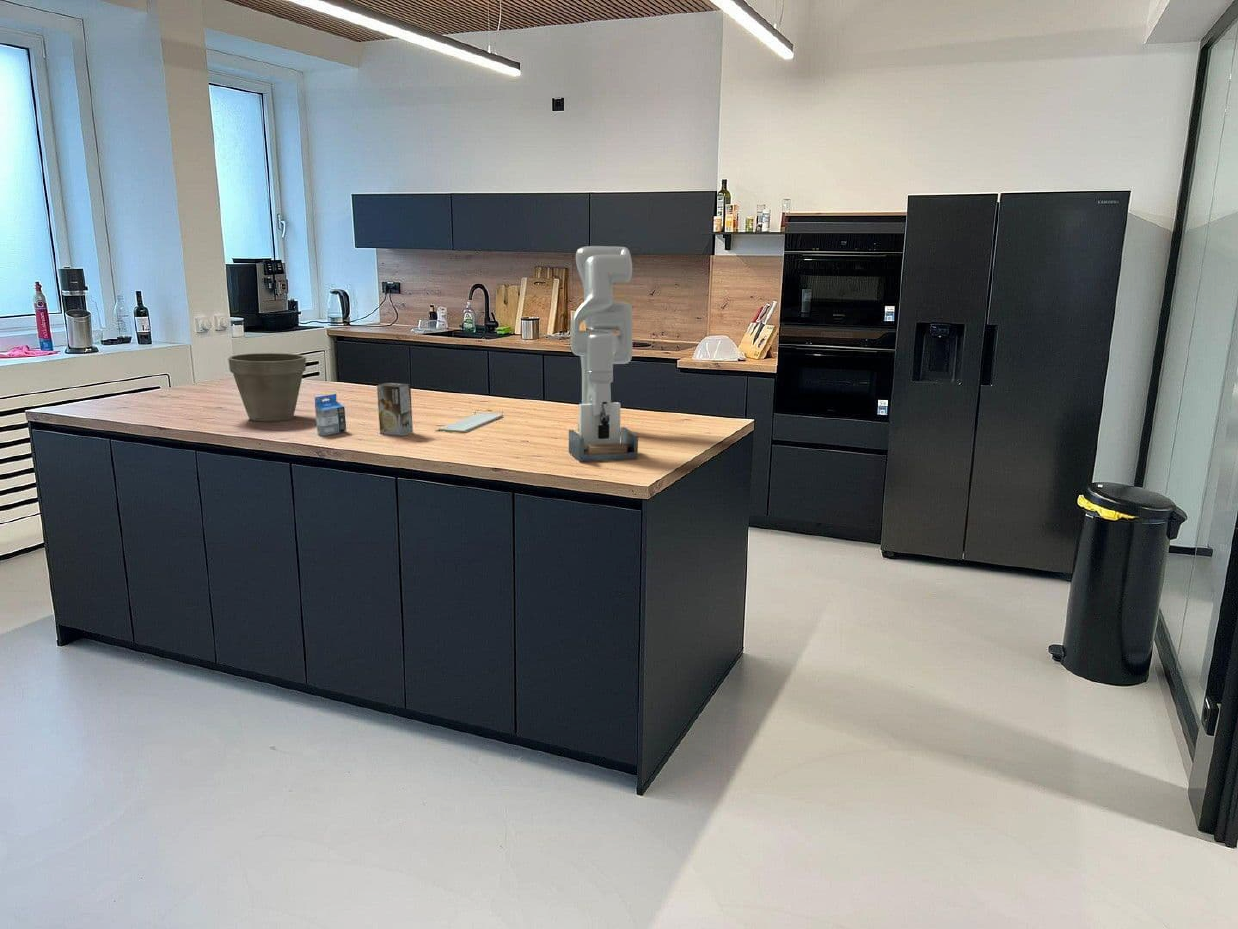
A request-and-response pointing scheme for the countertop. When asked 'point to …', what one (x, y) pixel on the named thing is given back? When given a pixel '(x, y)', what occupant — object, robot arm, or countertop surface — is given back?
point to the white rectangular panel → (590, 424)
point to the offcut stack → (606, 448)
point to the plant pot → (268, 383)
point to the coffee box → (395, 409)
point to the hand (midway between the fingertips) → (599, 435)
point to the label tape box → (329, 415)
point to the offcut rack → (578, 453)
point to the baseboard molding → (470, 422)
